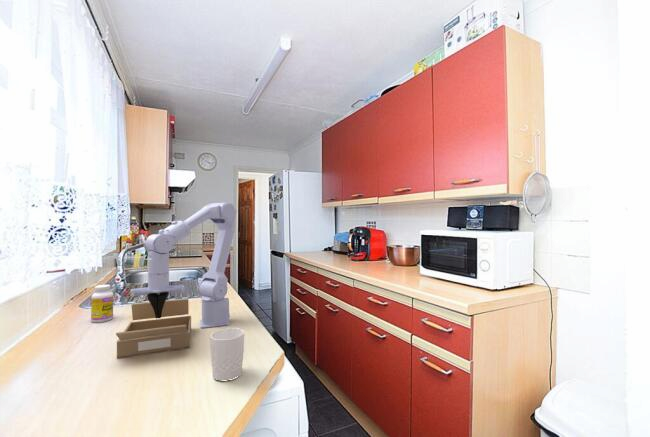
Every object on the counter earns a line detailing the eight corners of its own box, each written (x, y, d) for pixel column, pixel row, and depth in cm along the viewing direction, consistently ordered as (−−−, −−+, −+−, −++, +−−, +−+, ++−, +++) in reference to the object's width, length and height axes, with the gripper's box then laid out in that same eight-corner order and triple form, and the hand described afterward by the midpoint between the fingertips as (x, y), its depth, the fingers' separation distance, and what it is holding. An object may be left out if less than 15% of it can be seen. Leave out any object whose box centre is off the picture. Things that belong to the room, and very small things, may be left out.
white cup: (215, 367, 77) (215, 328, 77) (246, 366, 78) (246, 327, 78) (205, 384, 69) (205, 340, 69) (241, 382, 70) (241, 339, 70)
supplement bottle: (101, 323, 110) (101, 288, 110) (86, 322, 111) (86, 287, 111) (117, 317, 116) (117, 284, 117) (103, 316, 118) (103, 283, 118)
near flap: (185, 324, 85) (185, 325, 84) (186, 330, 89) (186, 331, 89) (116, 332, 78) (115, 334, 78) (120, 338, 83) (120, 340, 83)
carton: (191, 328, 105) (191, 315, 105) (189, 347, 89) (189, 332, 89) (130, 336, 98) (130, 322, 98) (116, 358, 82) (116, 341, 82)
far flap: (188, 314, 104) (188, 313, 104) (188, 299, 102) (188, 298, 103) (132, 320, 98) (132, 319, 98) (131, 304, 96) (131, 303, 96)
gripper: (128, 277, 87) (128, 324, 87) (183, 273, 93) (183, 318, 93) (133, 273, 94) (133, 317, 94) (184, 270, 99) (184, 311, 99)
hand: (158, 317), depth 94 cm, fingers closed
